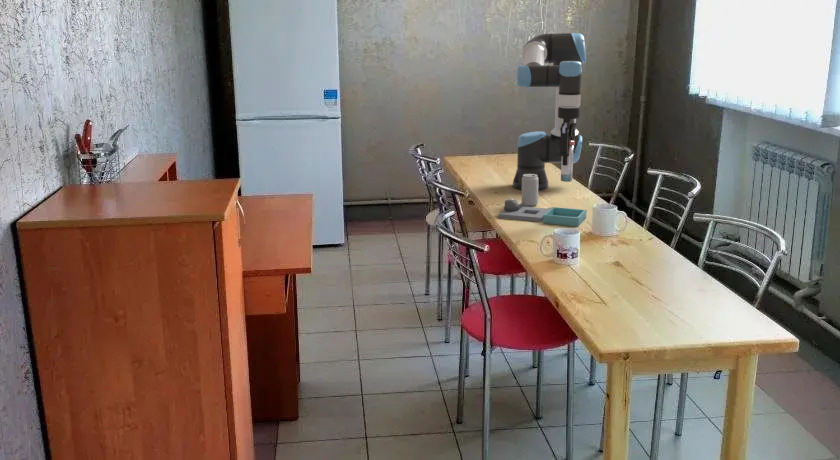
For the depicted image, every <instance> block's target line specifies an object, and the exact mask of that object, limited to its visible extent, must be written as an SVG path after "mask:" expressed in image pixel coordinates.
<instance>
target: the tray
mask: <svg viewBox="0 0 840 460" xmlns="http://www.w3.org/2000/svg"><path fill="white" fill-rule="evenodd" d="M549 209H550V210H549V211H548V212H546V213H545V214H544V218H543V221H542V222H543V224H548V225H560V226H568V225H569V226H570V227H579V226H580V225H581V224H582V223H583V222H584V221H585V220H586V219H587V212H588V211H587V209H582V208H581V209H579V208H569V207H556V206H552V207H551V208H549Z"/></svg>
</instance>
